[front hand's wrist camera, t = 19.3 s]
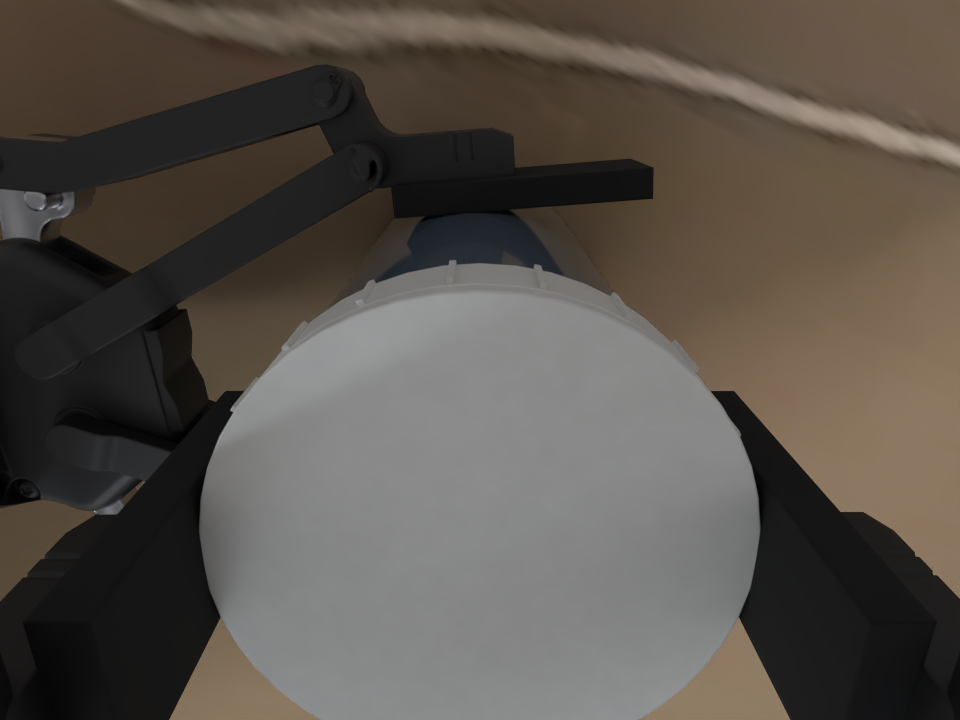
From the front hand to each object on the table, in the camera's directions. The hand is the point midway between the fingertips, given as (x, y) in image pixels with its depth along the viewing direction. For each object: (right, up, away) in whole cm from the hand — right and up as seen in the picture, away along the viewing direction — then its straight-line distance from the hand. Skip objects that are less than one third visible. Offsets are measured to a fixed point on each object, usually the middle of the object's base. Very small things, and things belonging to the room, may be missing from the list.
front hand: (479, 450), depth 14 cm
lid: (0, -1, -3) cm, 3 cm away
